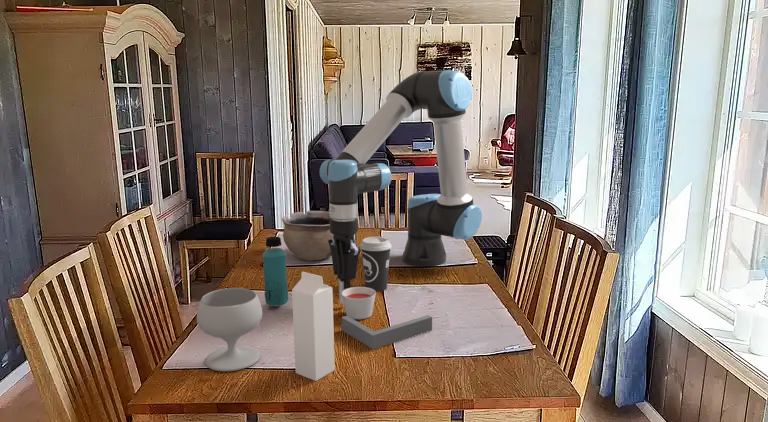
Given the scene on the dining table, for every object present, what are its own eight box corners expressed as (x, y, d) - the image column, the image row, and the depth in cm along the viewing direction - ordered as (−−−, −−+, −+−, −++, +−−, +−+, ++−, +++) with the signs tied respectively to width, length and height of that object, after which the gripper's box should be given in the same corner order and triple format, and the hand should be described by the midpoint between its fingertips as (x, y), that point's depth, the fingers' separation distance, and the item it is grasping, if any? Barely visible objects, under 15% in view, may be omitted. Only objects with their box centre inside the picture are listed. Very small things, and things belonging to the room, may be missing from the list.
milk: (314, 363, 128) (311, 267, 124) (335, 370, 125) (332, 272, 120) (295, 373, 123) (290, 274, 119) (315, 381, 120) (312, 280, 115)
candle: (350, 324, 149) (350, 301, 147) (337, 312, 156) (336, 290, 155) (381, 317, 153) (381, 295, 151) (366, 306, 160) (366, 284, 159)
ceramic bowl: (313, 246, 222) (312, 207, 219) (358, 255, 209) (357, 214, 206) (271, 260, 204) (268, 218, 201) (316, 271, 192) (315, 227, 189)
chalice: (208, 347, 136) (203, 286, 133) (268, 345, 137) (265, 284, 134) (193, 376, 123) (187, 309, 119) (260, 373, 124) (256, 307, 120)
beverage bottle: (293, 304, 163) (290, 235, 158) (281, 312, 157) (278, 241, 152) (272, 301, 165) (269, 233, 161) (260, 310, 159) (256, 239, 154)
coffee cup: (388, 294, 170) (388, 244, 167) (357, 292, 172) (356, 243, 169) (394, 283, 179) (394, 236, 176) (364, 281, 181) (363, 235, 178)
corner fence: (398, 313, 155) (398, 301, 155) (432, 330, 145) (432, 317, 144) (341, 330, 145) (341, 317, 144) (373, 349, 134) (372, 335, 134)
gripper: (319, 215, 157) (321, 297, 162) (344, 224, 147) (346, 312, 152) (342, 212, 162) (344, 292, 167) (368, 220, 151) (369, 305, 156)
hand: (345, 301), depth 159 cm, fingers closed
